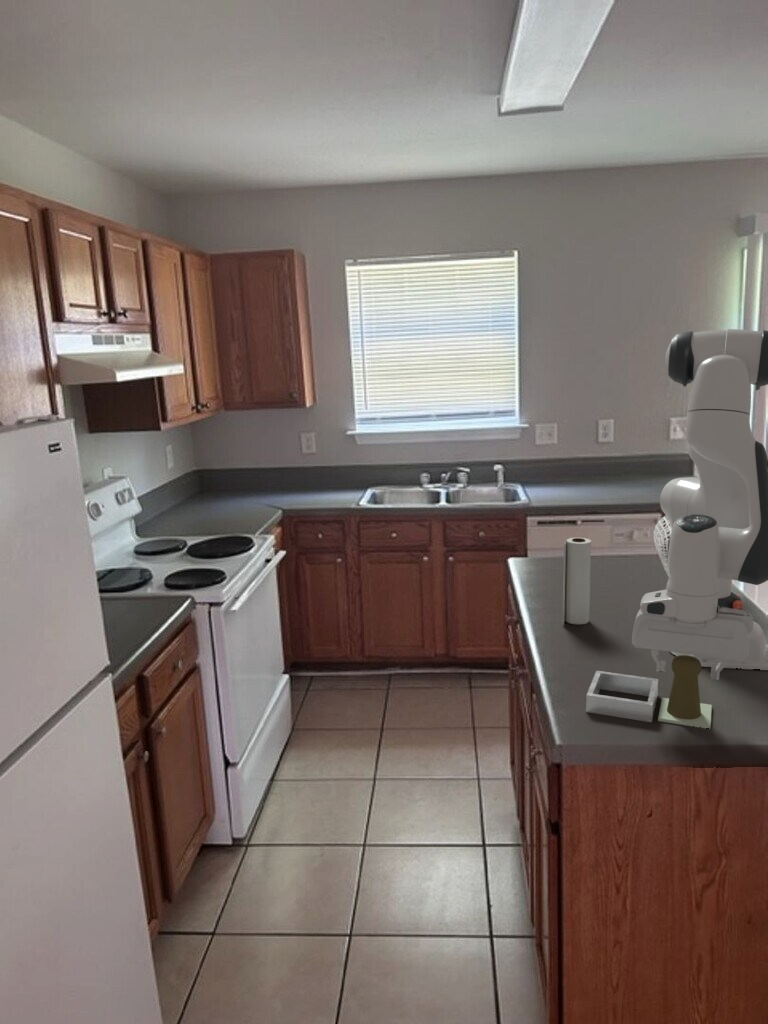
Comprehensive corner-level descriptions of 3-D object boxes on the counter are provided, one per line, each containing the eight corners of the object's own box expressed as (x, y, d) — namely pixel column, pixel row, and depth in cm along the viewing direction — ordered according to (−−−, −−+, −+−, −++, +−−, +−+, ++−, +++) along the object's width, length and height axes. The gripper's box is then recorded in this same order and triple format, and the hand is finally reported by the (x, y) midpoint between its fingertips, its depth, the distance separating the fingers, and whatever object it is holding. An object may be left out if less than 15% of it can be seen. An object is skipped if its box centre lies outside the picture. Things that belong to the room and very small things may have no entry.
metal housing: (657, 695, 153) (658, 679, 152) (651, 722, 142) (652, 705, 142) (595, 686, 158) (596, 670, 157) (586, 711, 147) (586, 695, 147)
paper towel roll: (586, 616, 198) (588, 536, 193) (591, 625, 192) (593, 542, 187) (558, 617, 198) (559, 537, 193) (562, 625, 192) (564, 543, 188)
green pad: (711, 707, 147) (711, 704, 147) (710, 729, 139) (710, 726, 139) (662, 700, 151) (662, 697, 151) (658, 720, 143) (658, 717, 143)
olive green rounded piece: (692, 703, 148) (695, 650, 145) (706, 718, 142) (710, 663, 140) (661, 705, 148) (664, 651, 145) (674, 720, 142) (677, 664, 139)
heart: (723, 614, 196) (729, 530, 191) (659, 611, 200) (663, 528, 195) (705, 581, 222) (709, 507, 218) (649, 579, 226) (652, 506, 221)
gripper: (753, 604, 139) (748, 675, 142) (635, 593, 147) (633, 660, 150) (754, 616, 133) (749, 689, 136) (632, 603, 142) (629, 673, 145)
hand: (687, 674), depth 143 cm, fingers open, 8 cm apart
